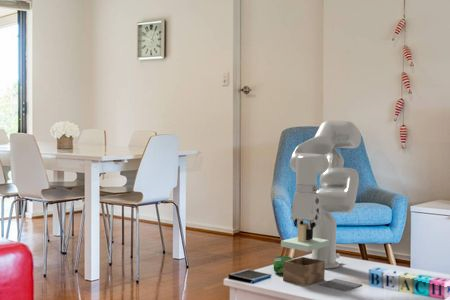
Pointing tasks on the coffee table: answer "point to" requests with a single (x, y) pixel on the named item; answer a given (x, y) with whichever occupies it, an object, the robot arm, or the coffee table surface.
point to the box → (303, 271)
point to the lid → (304, 241)
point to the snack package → (280, 263)
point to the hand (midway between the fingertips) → (305, 238)
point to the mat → (340, 284)
